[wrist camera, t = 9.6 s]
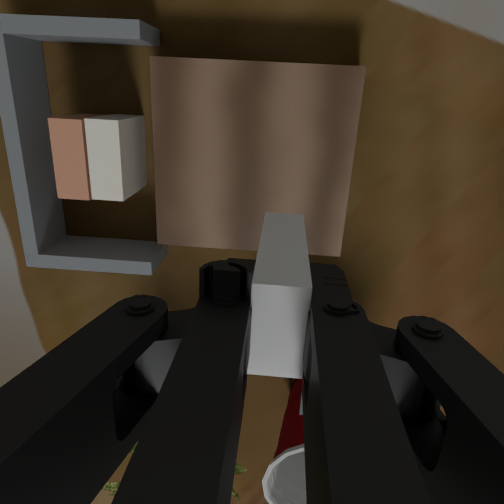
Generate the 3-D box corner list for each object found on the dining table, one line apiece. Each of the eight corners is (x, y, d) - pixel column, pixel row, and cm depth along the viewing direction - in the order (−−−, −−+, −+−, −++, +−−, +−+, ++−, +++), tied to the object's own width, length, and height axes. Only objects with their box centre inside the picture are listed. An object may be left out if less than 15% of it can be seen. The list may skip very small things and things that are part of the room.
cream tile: (118, 120, 29) (84, 118, 30) (123, 201, 32) (91, 199, 32) (144, 115, 35) (115, 113, 35) (147, 184, 37) (120, 182, 37)
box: (159, 29, 32) (139, 19, 28) (166, 253, 40) (151, 275, 35) (24, 23, 33) (-18, 12, 28) (56, 245, 40) (26, 266, 35)
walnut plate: (359, 68, 32) (366, 66, 30) (335, 244, 38) (340, 256, 35) (160, 58, 33) (149, 55, 30) (166, 233, 39) (157, 244, 36)
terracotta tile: (81, 119, 30) (47, 117, 30) (89, 200, 32) (57, 198, 32) (112, 115, 35) (84, 113, 35) (117, 183, 37) (90, 182, 38)
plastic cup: (249, 408, 46) (239, 510, 35) (296, 336, 42) (301, 425, 31) (333, 445, 47) (349, 555, 36) (386, 379, 43) (423, 479, 32)
